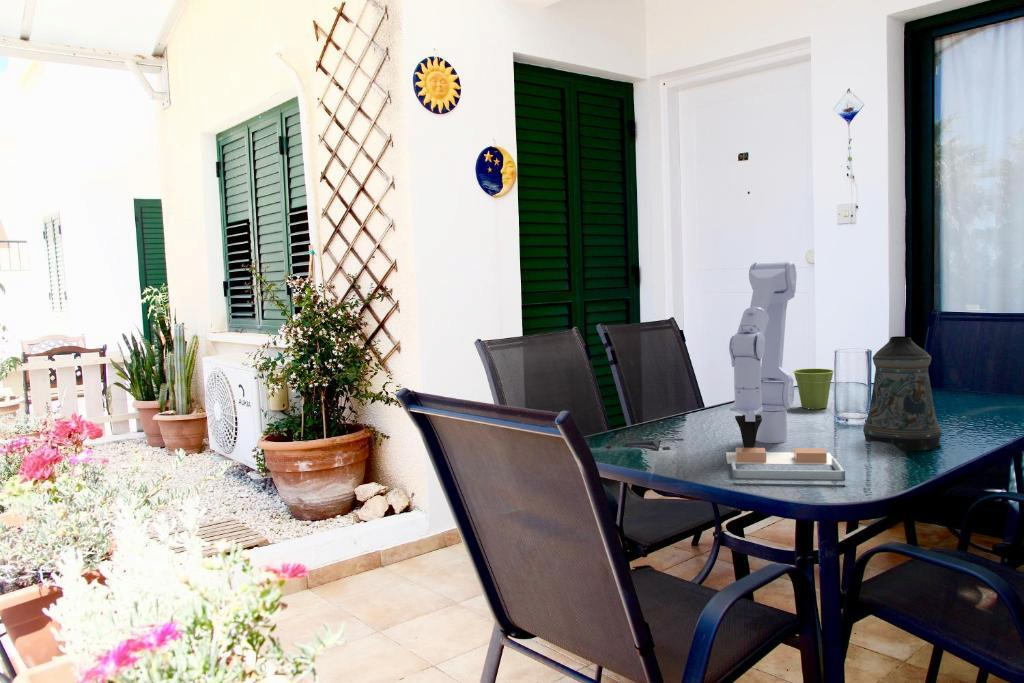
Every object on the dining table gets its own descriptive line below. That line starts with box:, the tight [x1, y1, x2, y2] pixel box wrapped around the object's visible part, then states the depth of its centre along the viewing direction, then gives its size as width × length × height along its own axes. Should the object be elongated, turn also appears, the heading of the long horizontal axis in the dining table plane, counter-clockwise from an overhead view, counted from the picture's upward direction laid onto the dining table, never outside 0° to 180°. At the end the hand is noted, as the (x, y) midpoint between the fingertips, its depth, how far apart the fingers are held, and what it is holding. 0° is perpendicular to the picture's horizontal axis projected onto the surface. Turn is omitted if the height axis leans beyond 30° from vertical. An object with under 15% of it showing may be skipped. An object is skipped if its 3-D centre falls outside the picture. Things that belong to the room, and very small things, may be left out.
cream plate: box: [725, 451, 834, 466], centre depth 172 cm, size 11×22×2 cm, turn 77°
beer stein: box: [862, 335, 943, 451], centre depth 188 cm, size 16×19×25 cm
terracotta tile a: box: [735, 447, 767, 462], centre depth 172 cm, size 5×6×2 cm
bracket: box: [624, 438, 684, 451], centre depth 192 cm, size 14×15×3 cm
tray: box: [730, 457, 846, 488], centre depth 161 cm, size 12×21×3 cm, turn 77°
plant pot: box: [792, 367, 835, 410], centre depth 240 cm, size 12×12×11 cm
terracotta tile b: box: [792, 447, 828, 463], centre depth 169 cm, size 5×6×2 cm
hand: (749, 448), depth 177 cm, fingers closed
